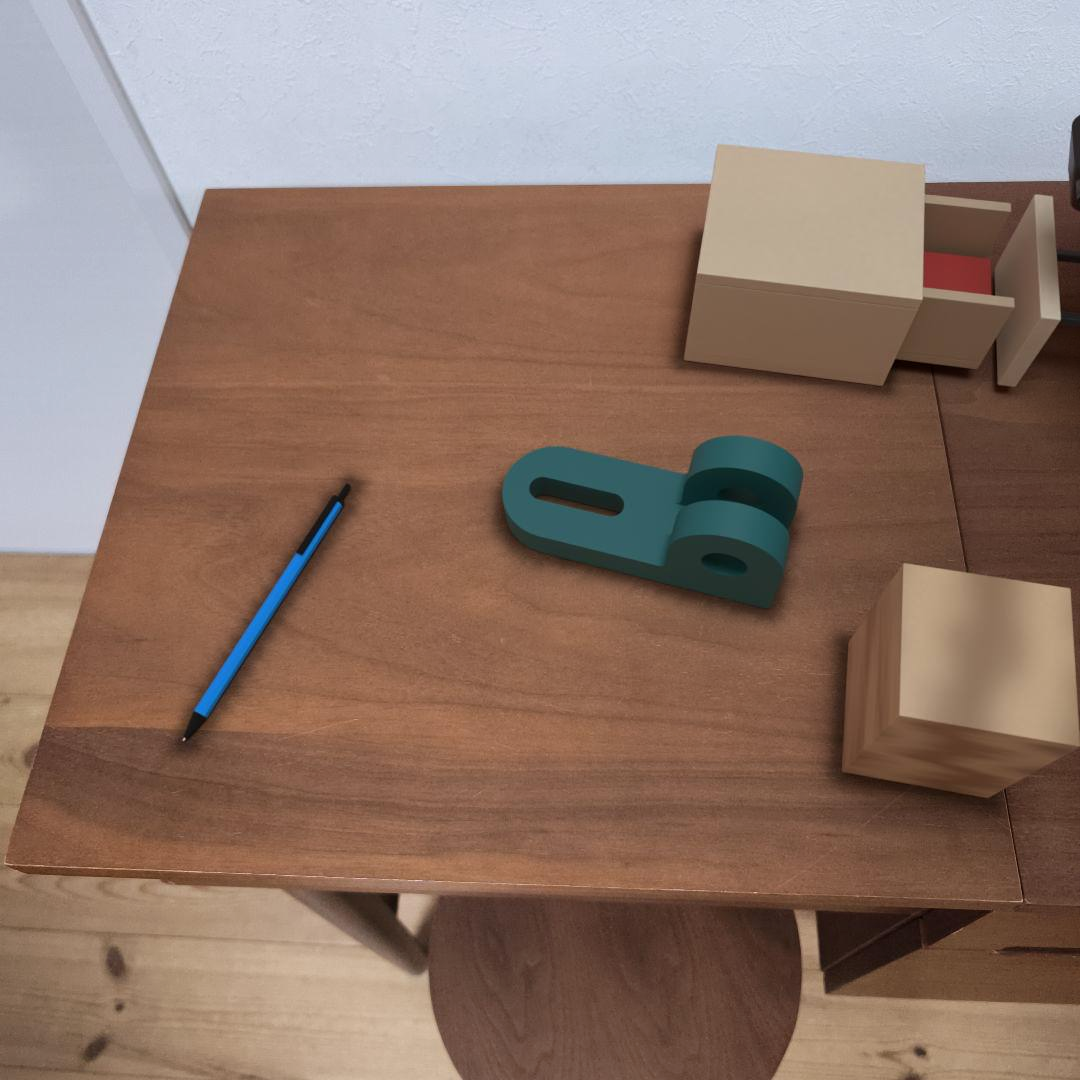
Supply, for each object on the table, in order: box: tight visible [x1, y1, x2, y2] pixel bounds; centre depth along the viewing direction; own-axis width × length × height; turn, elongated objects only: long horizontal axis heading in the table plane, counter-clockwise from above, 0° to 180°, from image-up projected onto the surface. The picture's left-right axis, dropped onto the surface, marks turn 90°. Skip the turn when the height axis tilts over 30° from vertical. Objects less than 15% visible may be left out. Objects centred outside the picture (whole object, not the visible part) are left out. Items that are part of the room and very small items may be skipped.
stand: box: [841, 562, 1080, 799], centre depth 50 cm, size 8×8×11 cm
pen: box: [182, 483, 351, 742], centre depth 59 cm, size 1×19×1 cm, turn 155°
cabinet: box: [683, 143, 926, 387], centre depth 65 cm, size 14×12×9 cm
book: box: [923, 251, 992, 295], centre depth 65 cm, size 4×6×2 cm
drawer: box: [895, 193, 1080, 388], centre depth 63 cm, size 18×11×7 cm, turn 79°
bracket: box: [501, 435, 804, 610], centre depth 58 cm, size 18×7×8 cm, turn 73°
